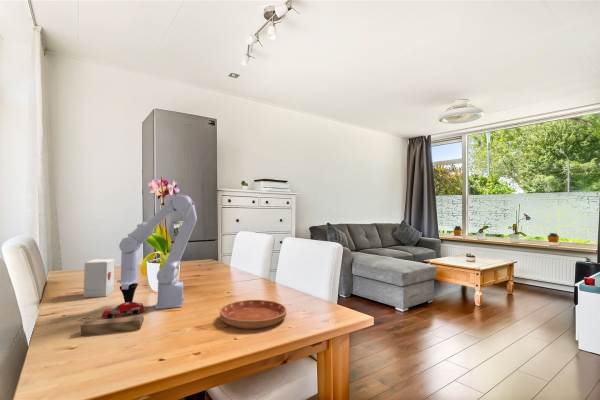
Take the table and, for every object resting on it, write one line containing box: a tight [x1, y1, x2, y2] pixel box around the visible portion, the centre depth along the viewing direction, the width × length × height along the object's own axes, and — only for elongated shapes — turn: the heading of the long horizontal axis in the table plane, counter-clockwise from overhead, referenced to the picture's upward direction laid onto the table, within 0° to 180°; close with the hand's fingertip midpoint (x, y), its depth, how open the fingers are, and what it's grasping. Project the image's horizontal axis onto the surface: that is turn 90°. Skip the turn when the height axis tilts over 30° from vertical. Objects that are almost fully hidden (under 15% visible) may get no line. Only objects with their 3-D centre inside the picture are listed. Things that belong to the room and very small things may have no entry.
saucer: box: [219, 299, 287, 330], centre depth 108 cm, size 23×23×4 cm
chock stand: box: [79, 315, 145, 337], centre depth 99 cm, size 16×8×3 cm, turn 108°
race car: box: [101, 301, 145, 319], centre depth 111 cm, size 13×5×4 cm, turn 120°
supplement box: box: [82, 258, 115, 298], centre depth 136 cm, size 9×9×15 cm
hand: (128, 303), depth 119 cm, fingers closed
